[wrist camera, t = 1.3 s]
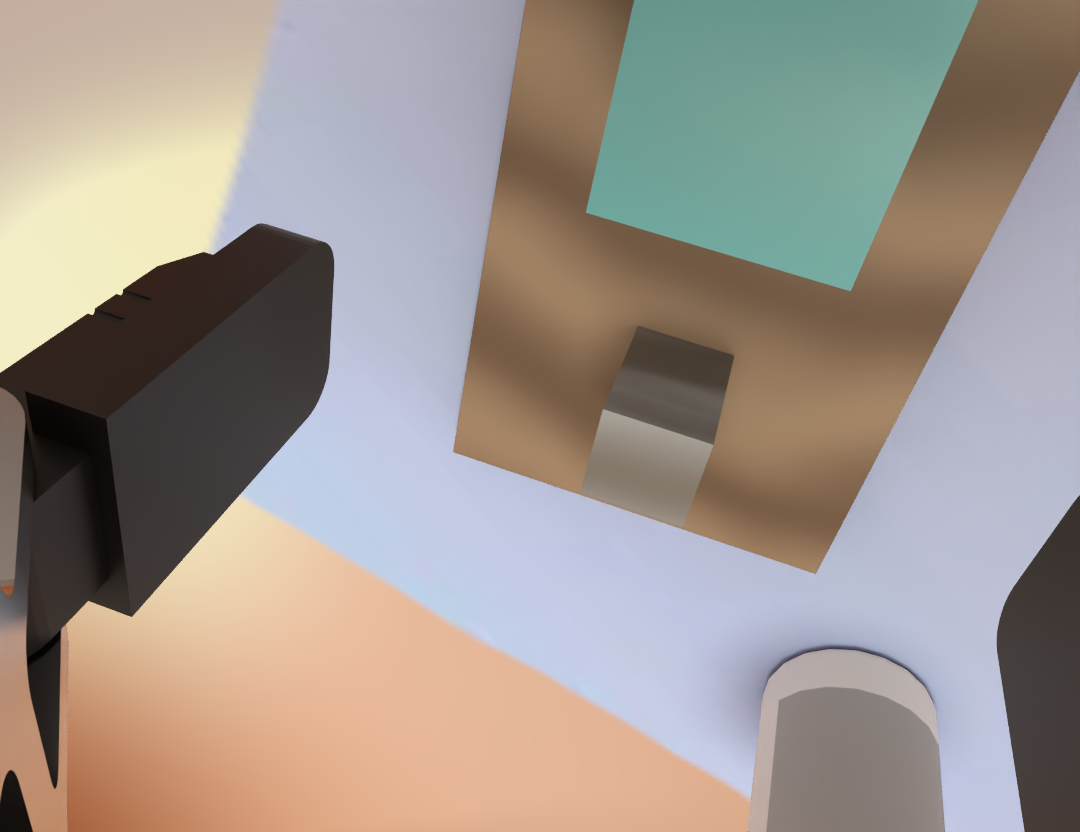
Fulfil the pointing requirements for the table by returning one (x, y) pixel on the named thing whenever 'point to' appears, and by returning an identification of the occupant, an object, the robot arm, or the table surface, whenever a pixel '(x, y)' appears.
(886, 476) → the table surface
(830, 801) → the spray bottle
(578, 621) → the table surface
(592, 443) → the board
